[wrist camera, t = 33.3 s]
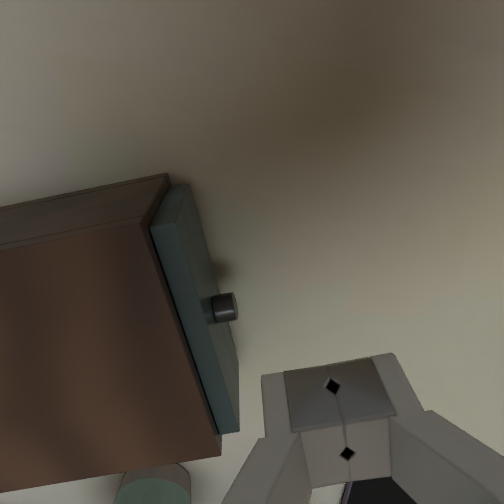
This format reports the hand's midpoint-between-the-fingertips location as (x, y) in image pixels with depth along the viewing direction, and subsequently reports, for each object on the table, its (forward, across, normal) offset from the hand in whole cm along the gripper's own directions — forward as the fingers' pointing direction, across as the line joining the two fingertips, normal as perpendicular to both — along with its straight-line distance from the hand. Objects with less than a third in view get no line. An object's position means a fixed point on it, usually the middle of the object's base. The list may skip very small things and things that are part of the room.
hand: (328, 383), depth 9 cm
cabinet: (+16, +13, +6) cm, 21 cm away
